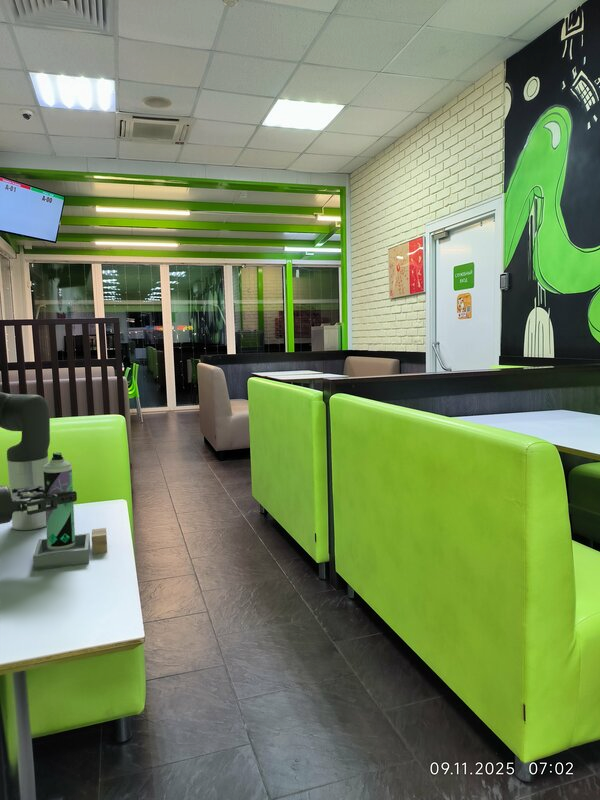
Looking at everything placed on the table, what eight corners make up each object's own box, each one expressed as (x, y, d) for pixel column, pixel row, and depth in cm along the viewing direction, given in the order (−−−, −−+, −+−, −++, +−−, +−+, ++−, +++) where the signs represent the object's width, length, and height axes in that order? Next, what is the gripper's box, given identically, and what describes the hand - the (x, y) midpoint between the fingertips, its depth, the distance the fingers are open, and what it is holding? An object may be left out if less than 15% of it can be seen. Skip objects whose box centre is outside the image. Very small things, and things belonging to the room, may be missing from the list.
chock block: (93, 546, 126) (91, 529, 125) (107, 544, 127) (106, 527, 126) (92, 554, 121) (91, 536, 121) (107, 552, 122) (106, 534, 122)
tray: (39, 552, 122) (38, 539, 122) (90, 545, 126) (89, 533, 125) (34, 570, 112) (33, 556, 112) (88, 563, 116) (88, 549, 116)
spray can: (49, 542, 120) (44, 451, 118) (76, 539, 122) (72, 450, 120) (45, 551, 115) (40, 456, 113) (74, 548, 117) (69, 454, 115)
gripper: (-12, 496, 102) (81, 481, 113) (-26, 482, 114) (60, 470, 124) (-10, 535, 103) (83, 517, 114) (-24, 517, 114) (62, 502, 125)
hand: (71, 492), depth 119 cm, fingers closed on spray can, 5 cm apart
